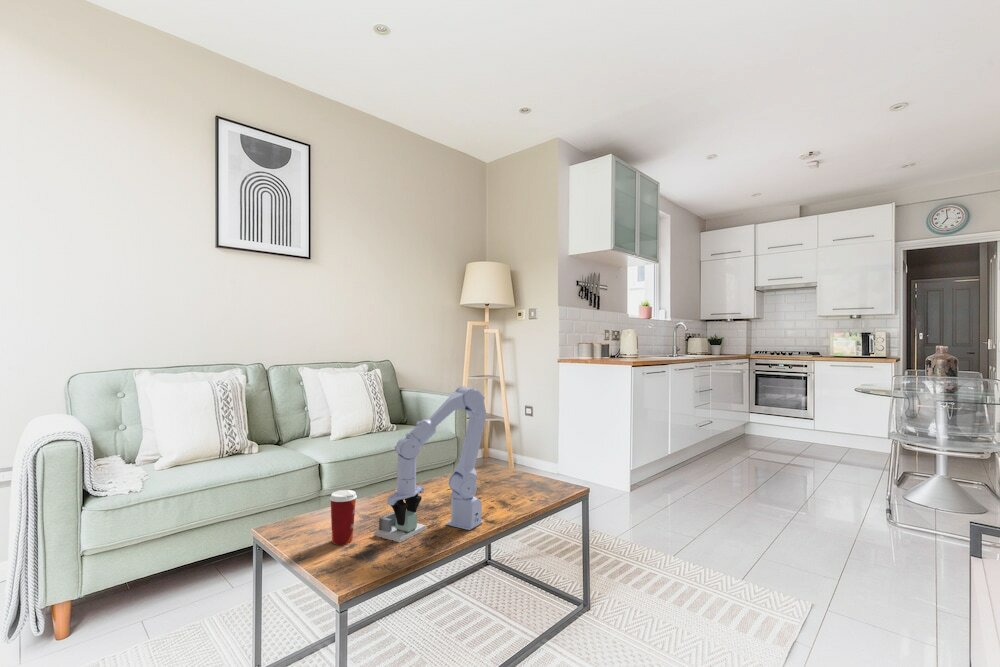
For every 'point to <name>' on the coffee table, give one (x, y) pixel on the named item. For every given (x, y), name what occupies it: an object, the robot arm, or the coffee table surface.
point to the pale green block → (408, 522)
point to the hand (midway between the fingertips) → (405, 522)
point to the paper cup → (342, 516)
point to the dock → (390, 532)
